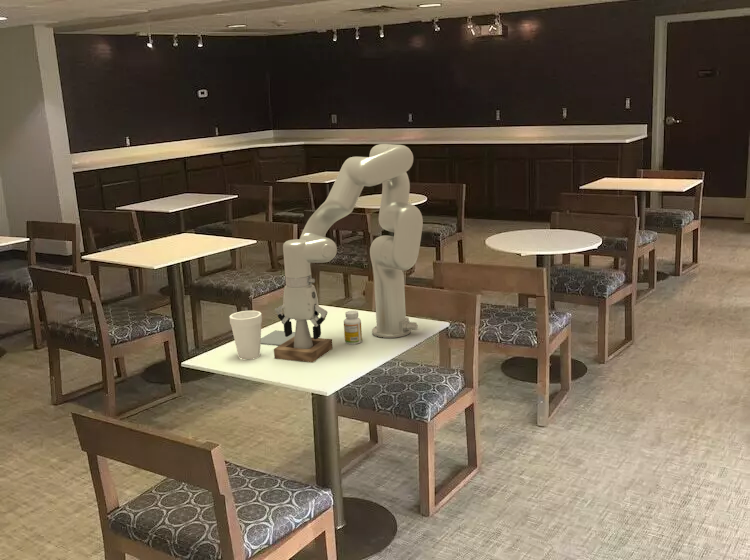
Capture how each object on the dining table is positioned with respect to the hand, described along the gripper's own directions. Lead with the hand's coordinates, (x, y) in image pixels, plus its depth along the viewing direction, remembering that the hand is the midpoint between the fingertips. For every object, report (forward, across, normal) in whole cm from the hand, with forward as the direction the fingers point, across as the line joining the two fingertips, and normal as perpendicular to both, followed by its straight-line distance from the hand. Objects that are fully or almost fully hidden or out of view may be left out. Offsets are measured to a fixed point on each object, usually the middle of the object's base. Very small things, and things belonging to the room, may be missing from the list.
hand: (302, 336), depth 230 cm
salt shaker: (+6, 0, 0) cm, 6 cm away
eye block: (+5, 0, 0) cm, 5 cm away
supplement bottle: (+6, -10, -14) cm, 18 cm away
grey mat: (+5, +14, -11) cm, 19 cm away
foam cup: (+6, +15, +7) cm, 17 cm away
